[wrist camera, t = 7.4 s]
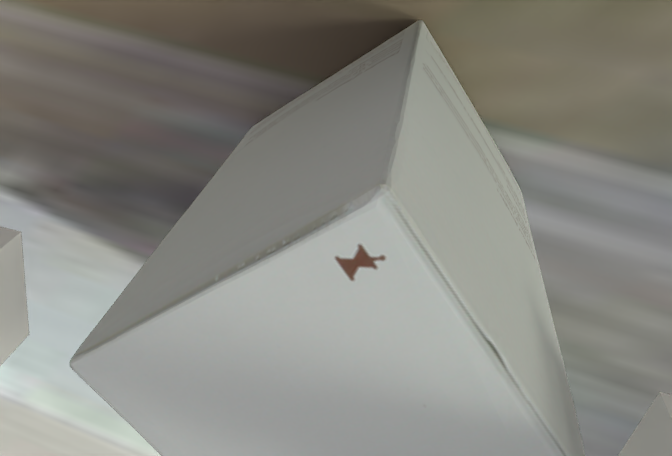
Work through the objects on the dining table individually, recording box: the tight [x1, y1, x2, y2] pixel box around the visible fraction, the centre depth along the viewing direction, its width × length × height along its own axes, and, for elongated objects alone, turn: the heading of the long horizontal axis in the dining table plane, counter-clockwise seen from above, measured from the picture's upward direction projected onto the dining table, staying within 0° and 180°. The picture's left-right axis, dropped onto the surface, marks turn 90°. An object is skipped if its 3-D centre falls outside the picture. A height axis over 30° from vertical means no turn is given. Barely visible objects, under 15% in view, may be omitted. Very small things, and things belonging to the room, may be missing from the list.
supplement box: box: [70, 20, 585, 456], centre depth 16 cm, size 7×7×13 cm
